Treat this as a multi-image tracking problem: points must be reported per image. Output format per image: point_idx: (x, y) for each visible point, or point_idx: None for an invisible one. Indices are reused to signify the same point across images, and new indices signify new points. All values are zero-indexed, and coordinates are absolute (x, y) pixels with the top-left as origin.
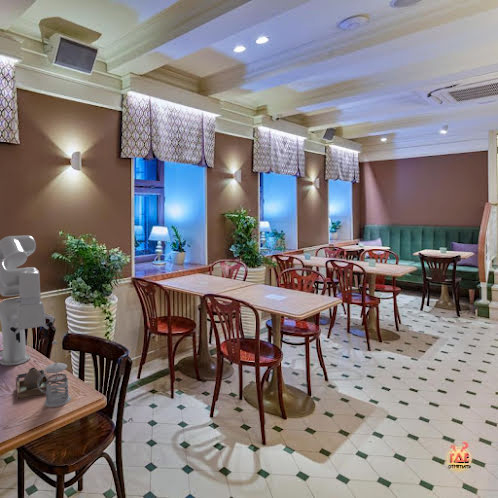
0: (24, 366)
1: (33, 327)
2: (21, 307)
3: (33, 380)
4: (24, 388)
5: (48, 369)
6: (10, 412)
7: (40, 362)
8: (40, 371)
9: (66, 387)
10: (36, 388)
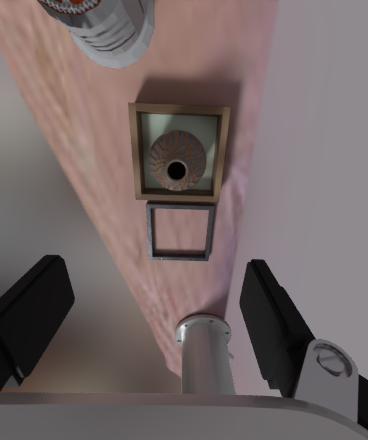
0: (188, 301)
1: (89, 398)
2: None
3: (178, 132)
4: None
5: None
6: (259, 14)
7: (155, 304)
8: (156, 255)
9: (59, 13)
10: (171, 108)
